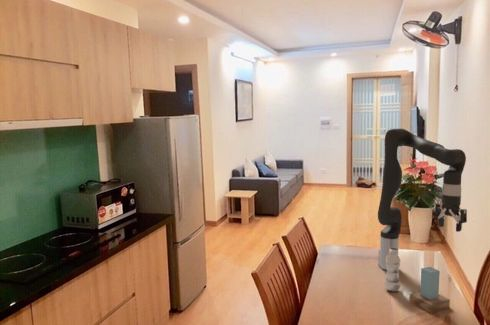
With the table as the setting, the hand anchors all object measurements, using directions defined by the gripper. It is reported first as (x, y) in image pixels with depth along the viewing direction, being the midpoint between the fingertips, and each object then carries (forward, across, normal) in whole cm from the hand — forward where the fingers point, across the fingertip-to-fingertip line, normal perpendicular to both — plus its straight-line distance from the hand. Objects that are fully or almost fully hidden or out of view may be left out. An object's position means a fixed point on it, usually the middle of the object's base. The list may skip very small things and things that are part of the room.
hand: (449, 228), depth 171 cm
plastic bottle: (+30, -12, -21) cm, 39 cm away
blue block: (+27, +5, -17) cm, 32 cm away
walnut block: (+31, +5, -17) cm, 35 cm away
